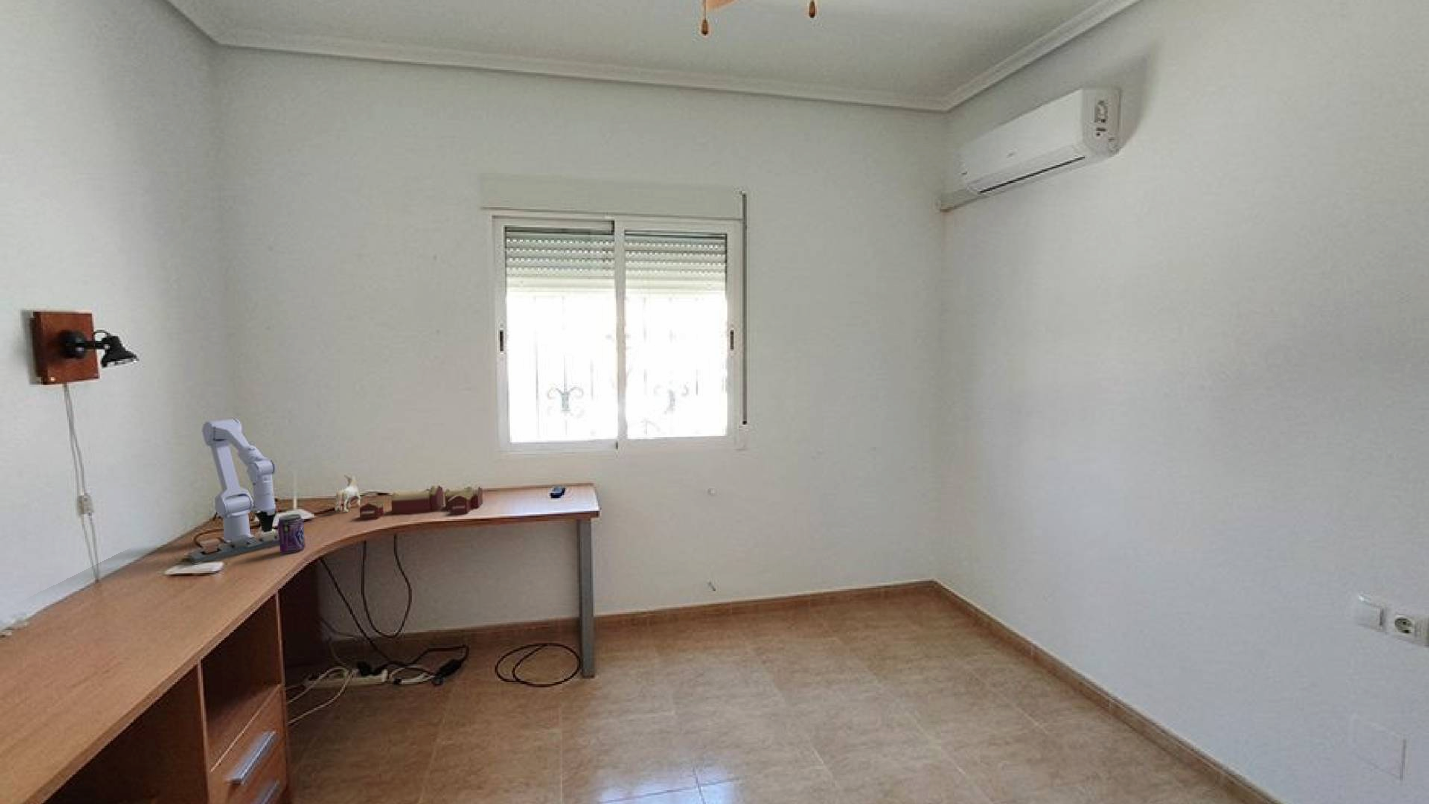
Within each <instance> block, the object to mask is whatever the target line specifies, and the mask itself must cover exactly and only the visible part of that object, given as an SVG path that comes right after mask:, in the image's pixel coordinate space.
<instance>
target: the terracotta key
mask: <svg viewBox="0 0 1429 804" xmlns="http://www.w3.org/2000/svg"><path fill="white" fill-rule="evenodd" d="M219 544H221V540H220V539H218V538H217V537H214V538H210V539H206V540H201V541H199V545H200V546H202V548H203V549H204V552H205V553H208V552H213V551H217V546H218V545H219Z"/></svg>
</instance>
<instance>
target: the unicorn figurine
mask: <svg viewBox="0 0 1429 804" xmlns="http://www.w3.org/2000/svg"><path fill="white" fill-rule="evenodd" d="M343 476H344V477H345V478H346V479H347V482H348V484H347V486H346V487H345V488H342V489H340V490H338V491H337V492H336V495H335V502H334V505H333V508H334V510H335V511H336V512H337V511H338V512H344V513H349V512H350V511H349V508H350V509H351V507H352V505H351V501H352V498H354V497H357V501H356V507H357V508H359V507H361V496H360V494H359V489H358V487H357V479H356V477H355V476H354V475H353V476H352V475H350V476H347V475H345V474H344V475H343ZM342 500H343V506H342Z"/></svg>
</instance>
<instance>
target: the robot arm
mask: <svg viewBox="0 0 1429 804" xmlns="http://www.w3.org/2000/svg"><path fill="white" fill-rule="evenodd" d="M201 432H202V436H203V439H204V442H205V445H206V446H209V447H210V449H211V450H210V451H211V453H212V458H213V461H214V464H215V468H216V472H217V475H218V478H219V483H220V486H221V491H220V492H219V493H218V494H217V495H216V496H215V498H214V501H215V502H214V503H215V507H214V508H215V511H216V513H217V515H218V516H220V518H222V526H223V535H224V536H221V538H220V539H222V540H223V541H224V542H226V544H230V543H232V542H231V541H230V538H232V537H237V536H241V535H247V536H249V539H253V538H255V535H253V534H252V533H251V529H250V520H249V514H250V513H251V511H252V512H254V511H255V512H256V513H255V512H254V515H255V517H256V518H257V520H258V522H259V524H260V527H261V529H262V530H261V531H263V532H270V531H272V529H273V525H274V521H275V518H276V516H277V513H278V512H277V511H276V510H275V509H276V507H277V505H276V502H275V493H274V491H275V490H274V485H273V484H274V483H273V475H274V474H275V471H276V464H275V463H274V461H273V459H271V458H268V457H265V456H264V455H263V454H262V452H260V450H259V449H258V448H257V447H256V446H255V445H250V444H249V442H248V441H247V439H246V438H245V436H244V434H243V433H242V432H243V427H242V424H241V421H240V420H238V419H237V418H231V419H223V420H222V419H221V420H213V421H205V422H204V424H203V425H202V429H201ZM230 444H231V445H232V446H233V448H235V450H237V451H238V452H237V456H238V457H239V459H240V460H241V461H242V463H243V464H244V465H245V467H247V468H246V472H247V475H248V477H249V481H250V483H251V484H252V492H253V493H252V494H253V497H252V496H251V494H250V492H249V490H248V489H245V488H243V487H242V486H240V484H239V480H238V476H237V473H236V469H235V464H234V461H233V457H232V453H231V450H230Z"/></svg>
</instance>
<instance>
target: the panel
mask: <svg viewBox="0 0 1429 804" xmlns="http://www.w3.org/2000/svg"><path fill="white" fill-rule="evenodd" d="M274 537H275V539H273V540H268V541H264V542H263V541H262V537H261V536H258V537H253V538H249V540H246V541H247V545H246V546H241V547H237V548H234V543H233V542H229V543H226V544H222V545H217V551H213V552H208V553H205V552H204V548H203V549H198V550H194V551H190V552H188V553H187V554H188V559H189V560H190V559H191V560H190V561H191V562H192V563H193V562H194V563H198V562H205V563H209V562H213V560H214V561H218V560H223V559H226V557H227V558H231V557H236V556H240V555H243V553H244V554H249V553H252V552H253V553H254V552H257V551H262V550H266V549H270V548H274V547H275V548H276V547H278V546H279V547H280V544H279V534H278V532H277V534H274ZM265 548H266V549H265ZM230 556H231V557H230ZM217 559H218V560H217ZM194 563H193V564H194Z"/></svg>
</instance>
